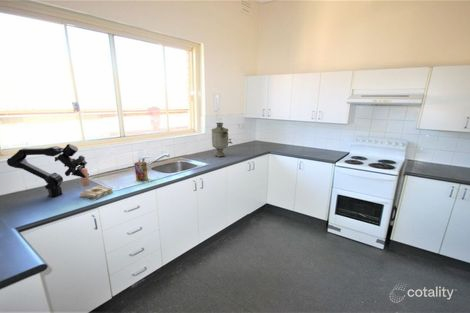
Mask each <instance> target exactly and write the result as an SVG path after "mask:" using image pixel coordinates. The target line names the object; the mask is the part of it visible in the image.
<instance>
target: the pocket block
mask: <svg viewBox="0 0 470 313" xmlns="http://www.w3.org/2000/svg"><path fill="white" fill-rule="evenodd" d="M113 192H114V191H113V188H112V187H107V186H102V185H95V186H93V187H91V188H88V189H85V190H82V191H80V192H79V194H80V195H79V196H80V197H82V198H86V199H90V198H91V199H90V200H94V199H96V200H97V198H98V199H100V198H102V196H103V197H105V196H107V195H109V193H110V194H111V193H113ZM104 195H105V196H104ZM99 197H100V198H99Z"/></svg>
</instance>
